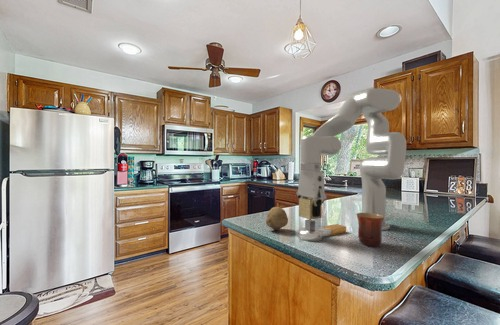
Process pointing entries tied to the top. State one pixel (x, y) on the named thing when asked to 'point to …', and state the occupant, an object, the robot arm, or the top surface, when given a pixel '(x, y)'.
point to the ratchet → (318, 231)
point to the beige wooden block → (307, 208)
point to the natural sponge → (276, 218)
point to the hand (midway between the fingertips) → (310, 214)
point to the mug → (370, 229)
